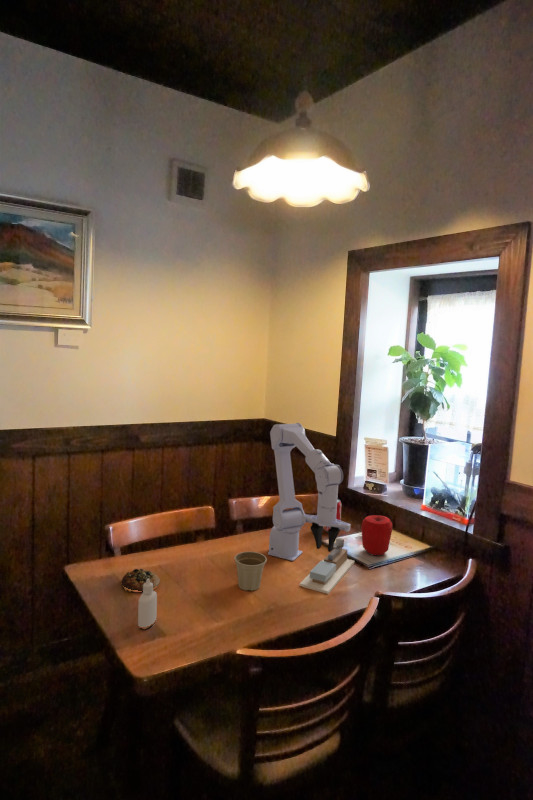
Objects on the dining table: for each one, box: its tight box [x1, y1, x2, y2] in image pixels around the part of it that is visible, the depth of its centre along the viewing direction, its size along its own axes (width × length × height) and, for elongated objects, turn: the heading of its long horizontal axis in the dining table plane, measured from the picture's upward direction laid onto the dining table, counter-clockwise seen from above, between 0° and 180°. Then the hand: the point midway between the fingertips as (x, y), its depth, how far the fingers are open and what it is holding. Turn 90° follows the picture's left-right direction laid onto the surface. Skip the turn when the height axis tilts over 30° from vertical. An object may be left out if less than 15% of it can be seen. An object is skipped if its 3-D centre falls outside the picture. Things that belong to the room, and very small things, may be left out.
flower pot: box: [233, 551, 268, 592], centre depth 154 cm, size 9×9×9 cm
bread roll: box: [120, 568, 161, 591], centre depth 153 cm, size 11×11×5 cm
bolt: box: [327, 536, 345, 560], centre depth 169 cm, size 2×9×4 cm, turn 153°
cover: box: [309, 560, 336, 582], centre depth 160 cm, size 5×9×2 cm, turn 153°
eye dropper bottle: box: [137, 579, 158, 627], centre depth 132 cm, size 4×6×12 cm
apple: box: [361, 514, 393, 556], centre depth 181 cm, size 11×10×14 cm
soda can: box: [323, 498, 342, 533], centre depth 200 cm, size 6×6×12 cm
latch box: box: [299, 546, 355, 595], centre depth 164 cm, size 9×24×4 cm, turn 153°
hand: (324, 549), depth 159 cm, fingers open, 3 cm apart
